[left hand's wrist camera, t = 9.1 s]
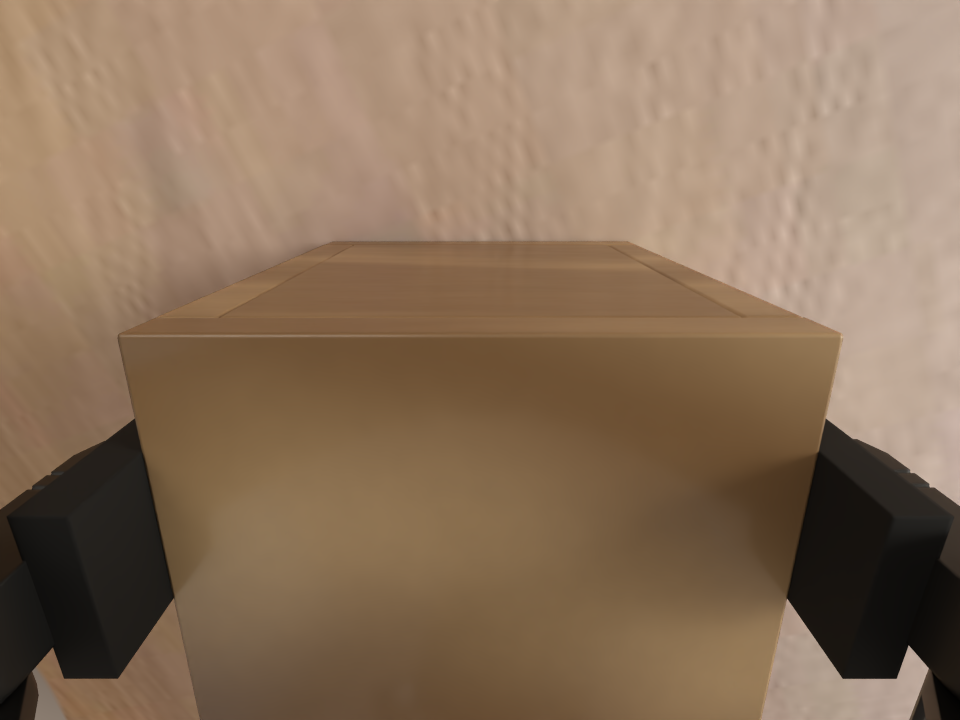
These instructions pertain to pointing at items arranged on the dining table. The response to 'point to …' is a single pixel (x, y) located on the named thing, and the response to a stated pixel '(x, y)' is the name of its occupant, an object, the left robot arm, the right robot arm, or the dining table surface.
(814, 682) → the dining table surface
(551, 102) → the dining table surface
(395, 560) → the cabinet
